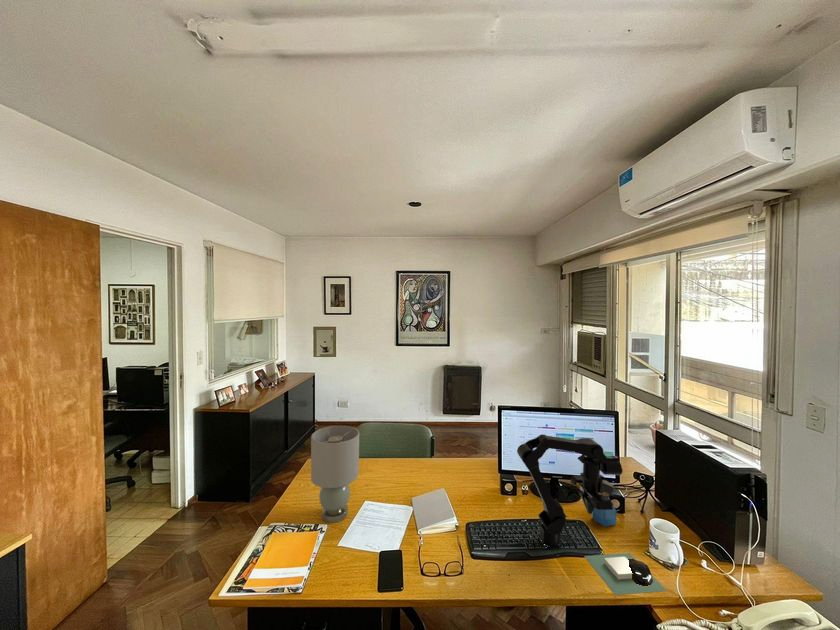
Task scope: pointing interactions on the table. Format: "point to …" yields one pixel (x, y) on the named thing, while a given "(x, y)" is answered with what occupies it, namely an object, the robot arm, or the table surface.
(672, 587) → the table surface
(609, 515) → the blue bottle
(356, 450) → the lamp
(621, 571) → the block
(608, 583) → the mat
